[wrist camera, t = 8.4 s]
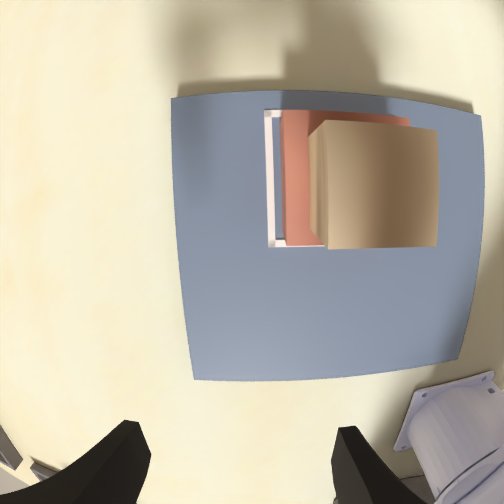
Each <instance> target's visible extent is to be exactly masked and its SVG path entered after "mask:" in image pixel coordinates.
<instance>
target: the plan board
mask: <svg viewBox="0 0 504 504" xmlns="http://www.w3.org/2000/svg"><path fill="white" fill-rule="evenodd" d="M283 110H324V111H344V112H358V113H370V114H380V115H389V116H397V117H405V118H409V120H410V127H417V128H425V129H431V130H437V137H438V156H439V213H438V232H437V245H436V247H403V248H365V249H327V248H326V246H325V245H318V246H286V242H285V239H284V236H283V233H282V189H281V155H280V129H279V123H280V119H281V115H282V111H283ZM171 139H172V171H173V192H174V209H175V224H176V237H177V249H178V260H179V270H180V280H181V289H182V298H183V307H184V315H185V322H186V330H187V337H188V344H189V351H190V358H191V364H192V370H193V376H194V380H212V381H293V380H312V379H327V378H339V377H350V376H359V375H368V374H376V373H384V372H391V371H397V370H404V369H410V368H416V367H421V366H427V365H432V364H437V363H442V362H447V361H451V360H456V359H458V355H459V352H460V349H461V345H462V342H463V338H464V334H465V330H466V326H467V322H468V318H469V314H470V309H471V305H472V300H473V295H474V290H475V284H476V278H477V272H478V265H479V258H480V250H481V241H482V230H483V216H484V189H485V172H484V145H483V132H482V121H481V116H480V115H476V114H473V113H469V112H465V111H461V110H457V109H452V108H448V107H443V106H439V105H434V104H429V103H423V102H418V101H412V100H406V99H399V98H392V97H385V96H376V95H367V94H357V93H345V92H330V91H304V90H267V91H241V92H226V93H213V94H203V95H194V96H185V97H178V98H171Z"/></svg>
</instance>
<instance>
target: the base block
mask: <svg viewBox="0 0 504 504" xmlns="http://www.w3.org/2000/svg"><path fill="white" fill-rule="evenodd" d="M325 120H341V121H358V122H371V123H383V124H393V125H402V126H410V120H409V118H405V117H397V116H389V115H380V114H370V113H358V112H344V111H324V110H283V111H282V115H281V119H280V123H279V129H280V155H281V189H282V233H283V236H284V239H285V242H286V246H318V245H324V244H323V243H322V242H321V241H320V240H319V238H318V237H317V236H316V235H315V234H314V233H313V232H312V231H311V229H310V191H309V157H308V136H309V135H310V134H312V133H313V132H314V131H315V130H316V129H317V128H318V127H319V126H320V125H321V124H322V123H323V122H324V121H325Z"/></svg>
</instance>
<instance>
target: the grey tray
mask: <svg viewBox="0 0 504 504" xmlns="http://www.w3.org/2000/svg"><path fill="white" fill-rule="evenodd" d="M22 460H23V459H22V457H21V456H20V454H19V453H18V452H17V450H16V449H15V447H14V446H13V444H12V443H11V441H10V440H9V438H8V437H7V435H6V434H5V432H4V430H3V429H2V427H1V426H0V462H1V463H3V464H5V465H6V466H8V467H10V468H12V469H13V470H16V469H17V467H18V466H19V464H20V463H21V462H22Z"/></svg>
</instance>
